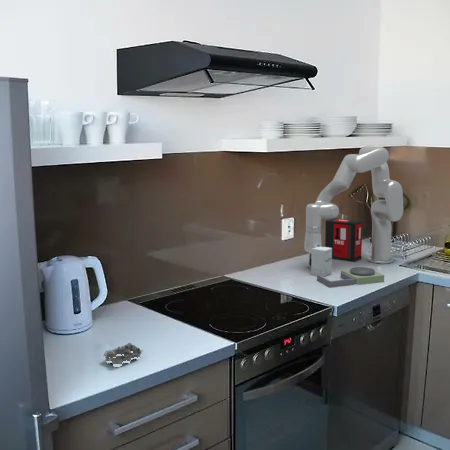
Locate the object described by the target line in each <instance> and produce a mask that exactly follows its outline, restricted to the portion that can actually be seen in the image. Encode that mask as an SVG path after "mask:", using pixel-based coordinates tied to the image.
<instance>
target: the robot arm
mask: <svg viewBox="0 0 450 450" xmlns="http://www.w3.org/2000/svg"><path fill="white" fill-rule="evenodd" d="M389 157H390V154H389V151H388V149H386V148H385V147H382V146H374V145H373V146H372V145H367V146H362V147H361V148H360V149H359V152H358V154H357V153H353V154H352V153H350V154H346V155H345V156H344V158H343V160H342V161H341V163H340V164H339V167H338V169H337V171H336V173H335V175H334V177H333V179H332V181H331V182H329V183H328V184H327V185H325V187H324V188H323V189H322V190H321V192H320V193H319V194H318V196H317V198H316V200H315V202H314V203H308V204H307V205H306V207H305V234H304V245H303V246H304V251H305V252H307V253H308V257H309V261H308V262H309V267H310V268H311V253H312V249H313V248H316V247H318V246H319V247H323V246H322V232H323V231H322V230H323V229H322V227H323V224H322V223H323V219H326V220H329V219H333V218H337V217H338V216H339V213H340V209H339V207H338V205H336V204H335V203H332V199H334V198H335V196H337V195H338V194H340V193H342V192H345V191H346V190H348V189H349V188H350V186H351V184H352V182H353V180H354V178H355V177H356V174H357V173H359V174H360V173H366V172H369V171H370V172H371V183H372V185H371V186H372V192H373V195H374V196H375V197H377V198H381V199H378V200H375V201H374V202H373V203H372V204H371V206H370V215H371V223H372V225H371V227H372V229H371V256H368V258H367V260H368V262H371V263H374V264H392V263H394V257H399V252H393V251H391V250H392V249H391V248H392V231H393V230H392V227H393V226H392V222H398V221H400V220H401V218H402V217H403V215H404V195H403V194H404V193H403V187H402V185H401V183H400V182H398V181H396V180H392V179H391V178H390V169H389V165H388V163H387V162H388V160H389Z"/></svg>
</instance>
